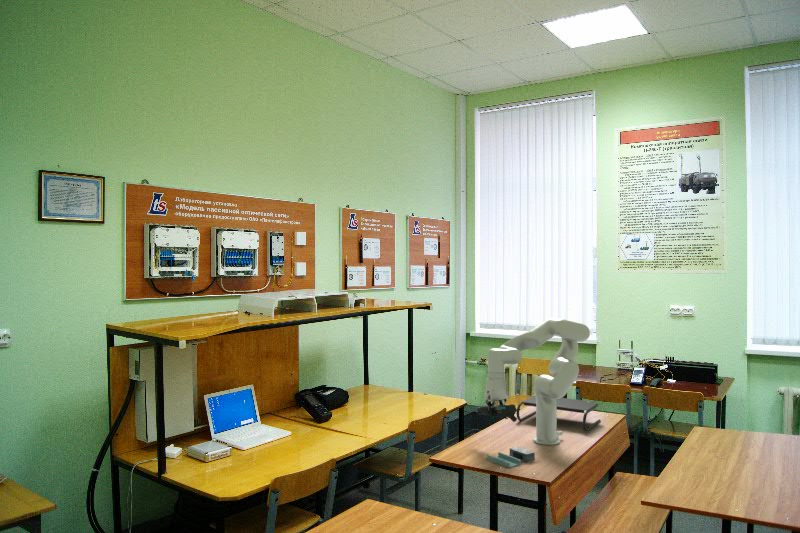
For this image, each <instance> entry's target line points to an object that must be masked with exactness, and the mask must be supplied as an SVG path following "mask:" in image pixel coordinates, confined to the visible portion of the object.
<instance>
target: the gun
mask: <svg viewBox="0 0 800 533" xmlns="http://www.w3.org/2000/svg"><path fill="white" fill-rule="evenodd" d="M494 408H495V416H494V417H497V418H504V419H505V420H508V419H510V420H511V421H512V422H513V423H515V422H517V420H518V419H517V416H515V414H517V406H516V404H505V405H500V404H498V405H494ZM475 411H476V412H477V413H478V415H479V416H481V415H483V416H490V415H489V407H488V405H482V406H477V407H475Z"/></svg>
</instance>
